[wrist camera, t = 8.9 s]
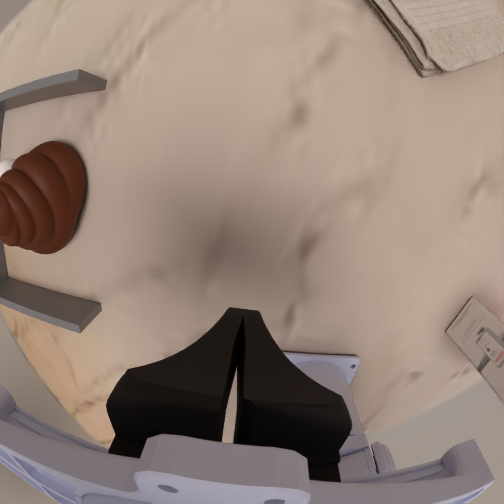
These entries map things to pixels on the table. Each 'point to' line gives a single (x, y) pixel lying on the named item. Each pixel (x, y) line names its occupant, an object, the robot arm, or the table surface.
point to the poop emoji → (41, 197)
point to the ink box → (481, 342)
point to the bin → (3, 288)
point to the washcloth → (443, 31)
